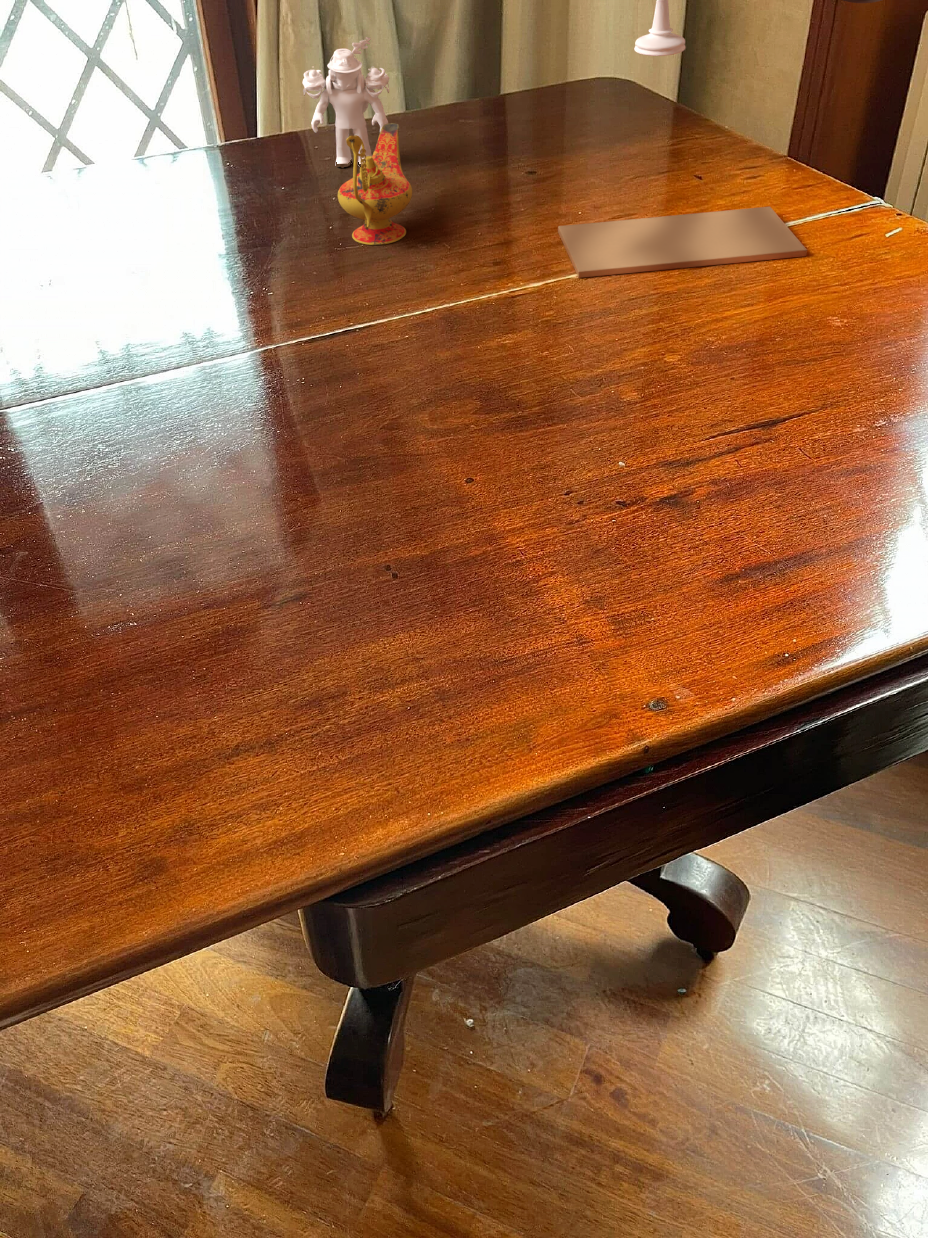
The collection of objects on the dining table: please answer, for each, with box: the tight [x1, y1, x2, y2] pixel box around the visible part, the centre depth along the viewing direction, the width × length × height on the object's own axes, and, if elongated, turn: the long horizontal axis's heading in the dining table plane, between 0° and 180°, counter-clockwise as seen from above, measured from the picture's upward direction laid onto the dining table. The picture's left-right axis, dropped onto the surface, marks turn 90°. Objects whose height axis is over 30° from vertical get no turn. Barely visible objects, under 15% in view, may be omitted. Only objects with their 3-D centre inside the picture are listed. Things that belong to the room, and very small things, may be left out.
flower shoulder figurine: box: [302, 36, 390, 164], centre depth 113 cm, size 9×4×12 cm, turn 87°
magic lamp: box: [337, 122, 413, 246], centre depth 100 cm, size 7×18×11 cm, turn 173°
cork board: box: [557, 206, 808, 279], centre depth 98 cm, size 20×10×1 cm, turn 96°
